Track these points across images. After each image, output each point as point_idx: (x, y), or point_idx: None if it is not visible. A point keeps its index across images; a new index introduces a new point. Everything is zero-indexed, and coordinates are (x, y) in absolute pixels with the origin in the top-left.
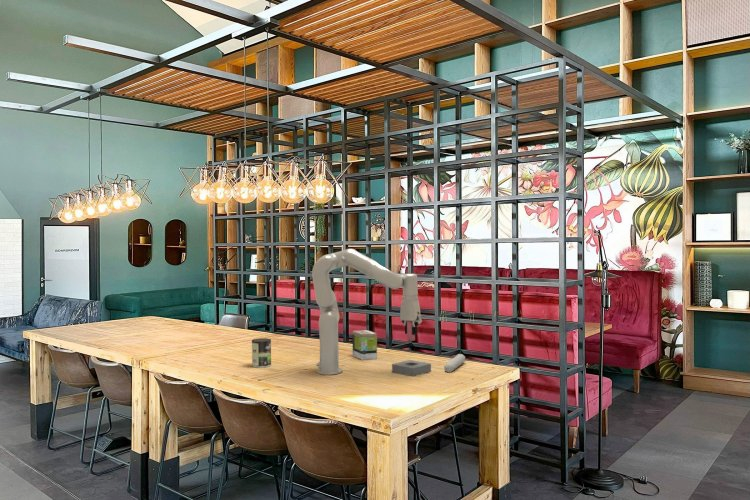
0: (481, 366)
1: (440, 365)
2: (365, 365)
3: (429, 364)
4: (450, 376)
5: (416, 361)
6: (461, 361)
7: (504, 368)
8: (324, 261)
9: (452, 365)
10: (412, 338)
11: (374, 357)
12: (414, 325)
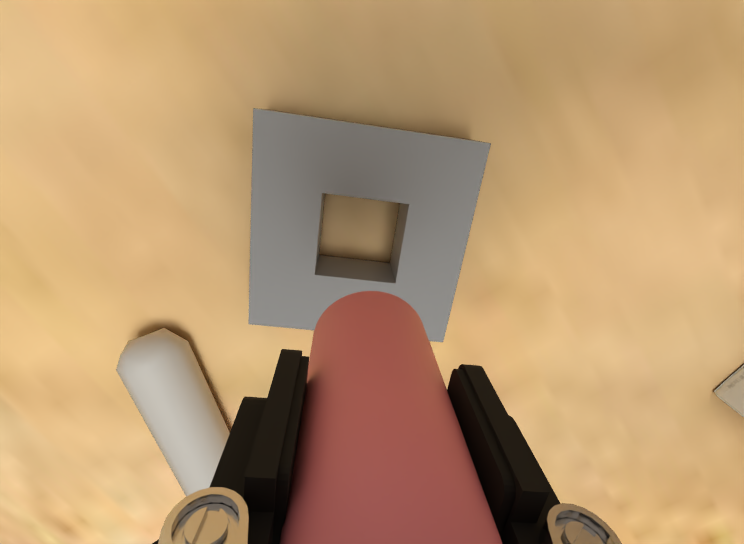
0: (121, 517)
1: None
2: (727, 215)
3: (250, 307)
4: (70, 250)
5: None
6: None
7: (4, 536)
8: None
9: (119, 373)
10: (320, 329)
11: (732, 386)
12: (163, 538)
